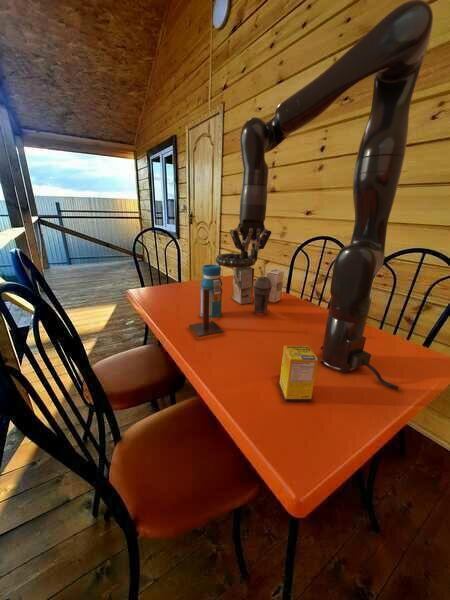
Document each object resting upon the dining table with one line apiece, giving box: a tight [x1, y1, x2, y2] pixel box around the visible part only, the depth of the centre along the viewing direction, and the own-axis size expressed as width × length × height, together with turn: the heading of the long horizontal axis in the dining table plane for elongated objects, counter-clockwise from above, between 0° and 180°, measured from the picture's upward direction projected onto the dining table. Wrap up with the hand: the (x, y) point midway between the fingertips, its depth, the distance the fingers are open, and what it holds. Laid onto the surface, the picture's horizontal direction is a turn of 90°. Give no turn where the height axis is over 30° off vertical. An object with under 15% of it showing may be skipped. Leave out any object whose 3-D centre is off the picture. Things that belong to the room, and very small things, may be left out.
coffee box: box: [231, 266, 255, 305], centre depth 117 cm, size 9×6×16 cm
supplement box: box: [278, 345, 319, 402], centre depth 57 cm, size 6×6×11 cm
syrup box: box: [266, 268, 285, 304], centre depth 119 cm, size 6×6×14 cm
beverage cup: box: [253, 265, 272, 314], centre depth 101 cm, size 7×7×20 cm
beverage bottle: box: [199, 264, 223, 319], centre depth 97 cm, size 8×8×20 cm
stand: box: [188, 288, 224, 338], centre depth 84 cm, size 9×9×16 cm
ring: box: [215, 252, 257, 268], centre depth 76 cm, size 12×12×2 cm
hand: (248, 262), depth 78 cm, fingers closed on ring, 2 cm apart
